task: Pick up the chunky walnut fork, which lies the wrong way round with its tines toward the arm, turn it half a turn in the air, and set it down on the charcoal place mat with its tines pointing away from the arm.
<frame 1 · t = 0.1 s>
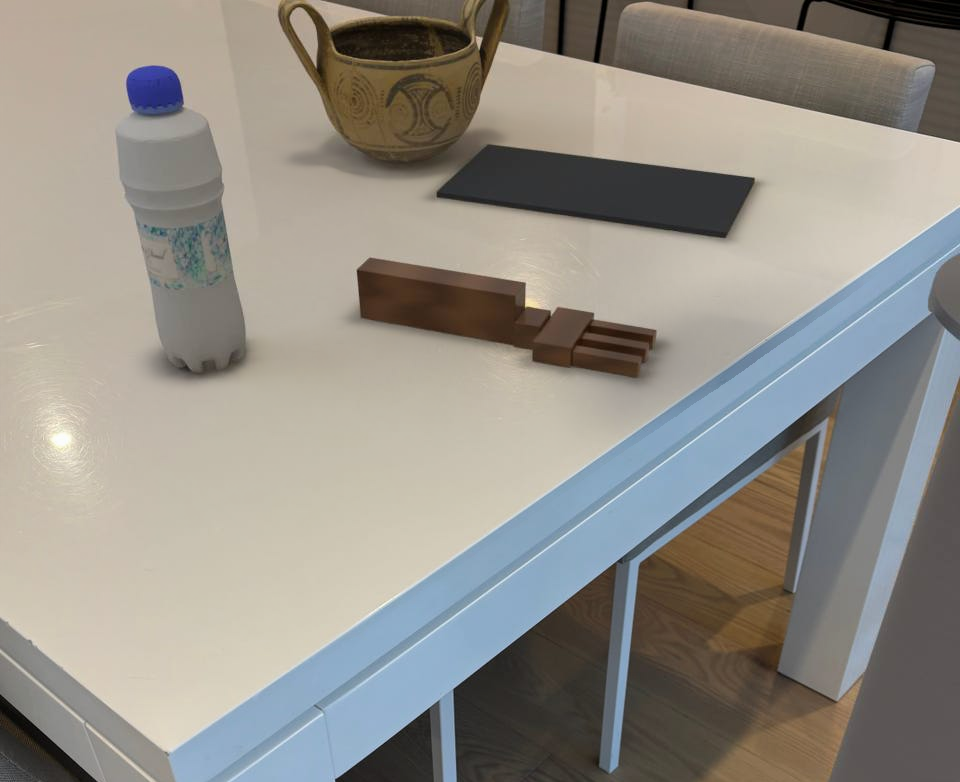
ceramic bowl: (402, 154, 113), on the table
bottle: (208, 360, 81), on the table
fork: (495, 334, 83), on the table
place mat: (596, 189, 105), on the table
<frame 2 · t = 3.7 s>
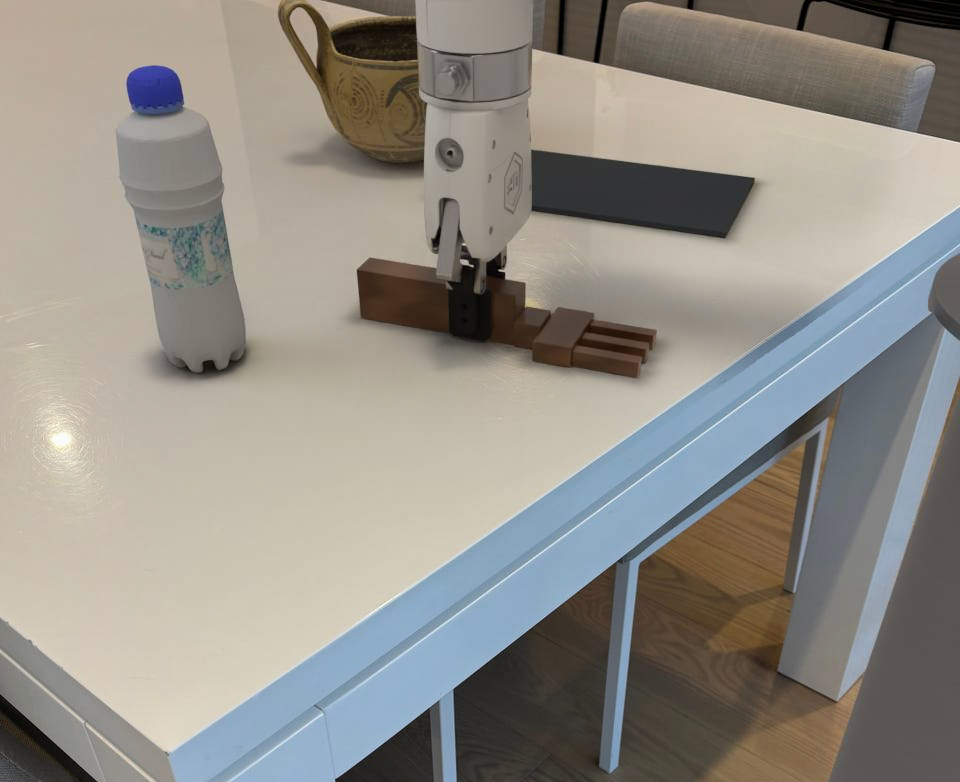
hand: (477, 326, 83), 0 cm above the table, tool pointing down, fingers closed on fork, 2 cm apart
fork: (495, 334, 83), on the table, touching gripper
everything else where it was.
when the fingers open (1 cm above the table, at t = 15.5 s): fork stays where it is, resting on place mat.
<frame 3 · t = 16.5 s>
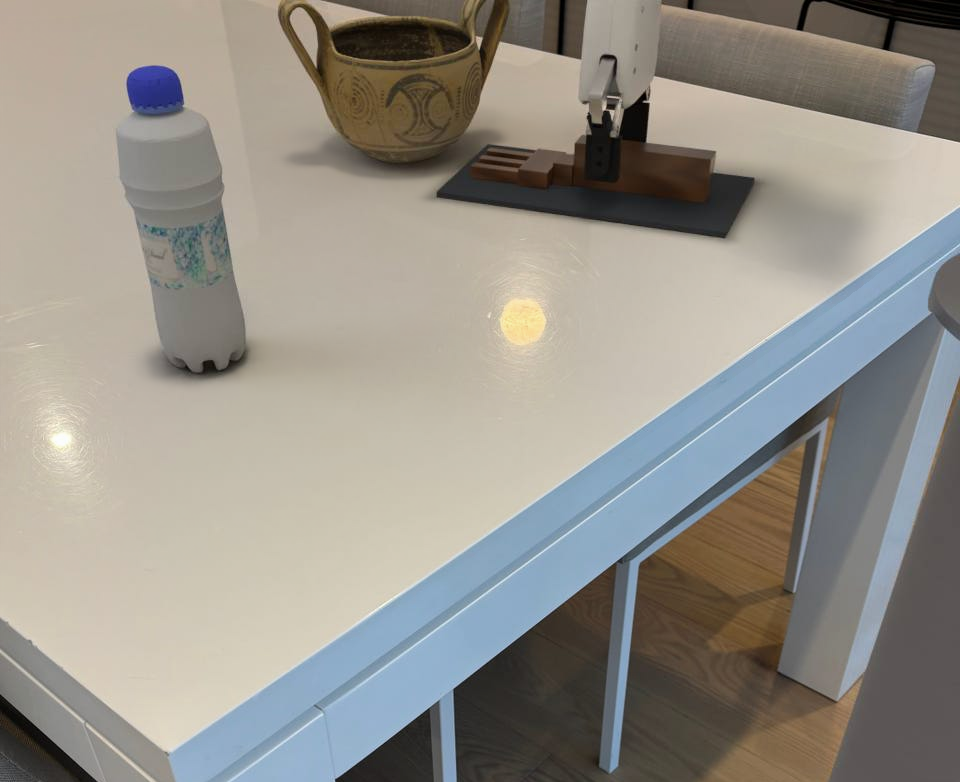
hand: (615, 162, 102), 3 cm above the table, tool pointing down, fingers open, 9 cm apart
fork: (595, 184, 104), resting on place mat
everything else where it was.
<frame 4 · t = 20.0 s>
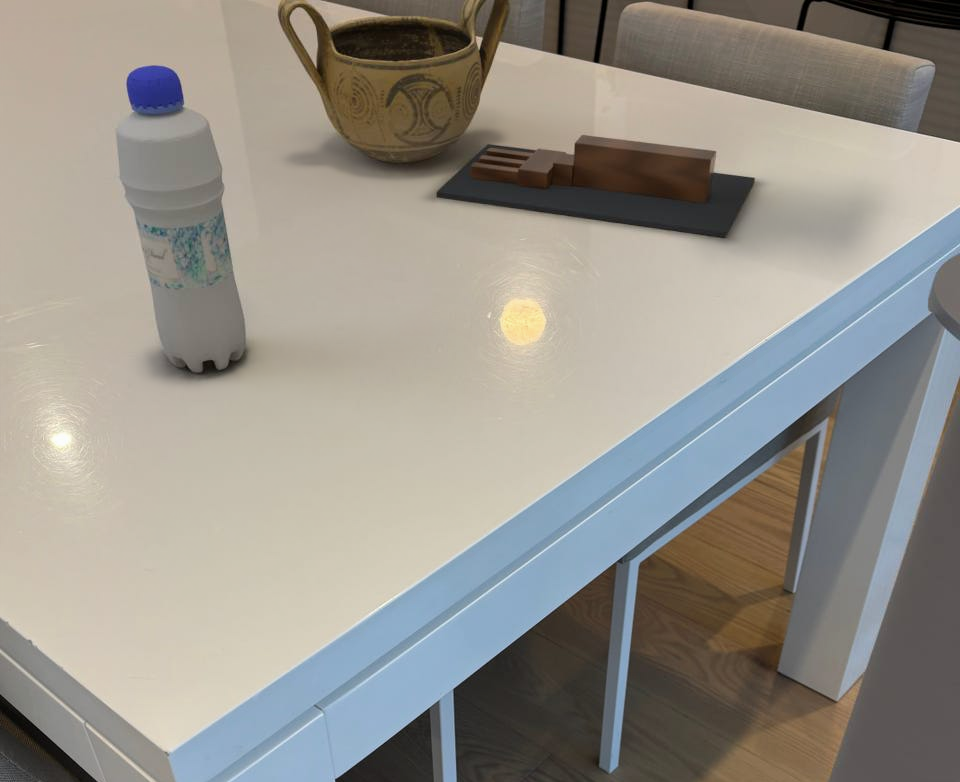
nothing on the table moved.
at the end: fork inside the target area on the place mat (1.3 cm from its centre), point 0.5 cm above the place mat's base; fork tilted 0°; the gripper is holding nothing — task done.
